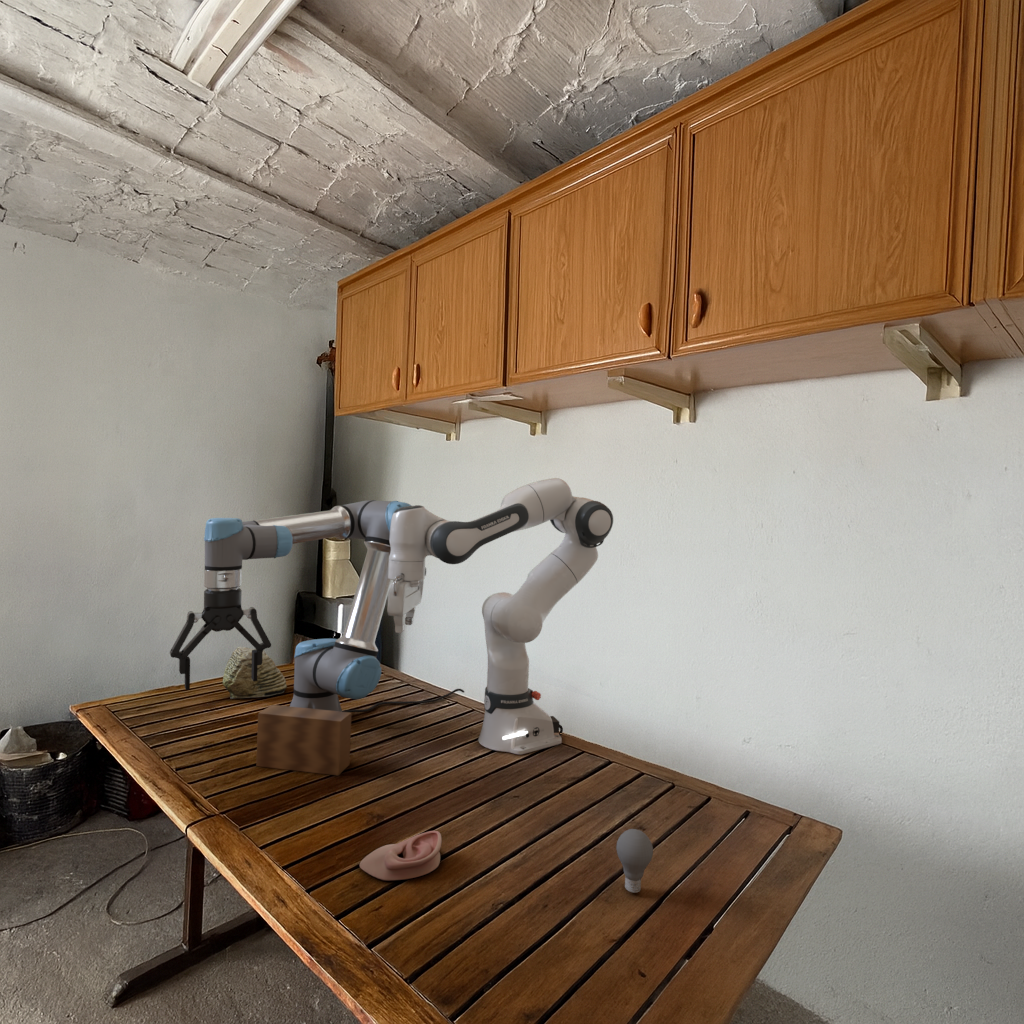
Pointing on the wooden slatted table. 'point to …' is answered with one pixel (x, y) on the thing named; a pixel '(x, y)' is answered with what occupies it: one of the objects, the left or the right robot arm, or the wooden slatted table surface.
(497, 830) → the wooden slatted table surface
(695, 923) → the wooden slatted table surface
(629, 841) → the light bulb
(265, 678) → the fossil
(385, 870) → the anatomical model
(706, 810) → the wooden slatted table surface
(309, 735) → the box
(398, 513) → the right robot arm
